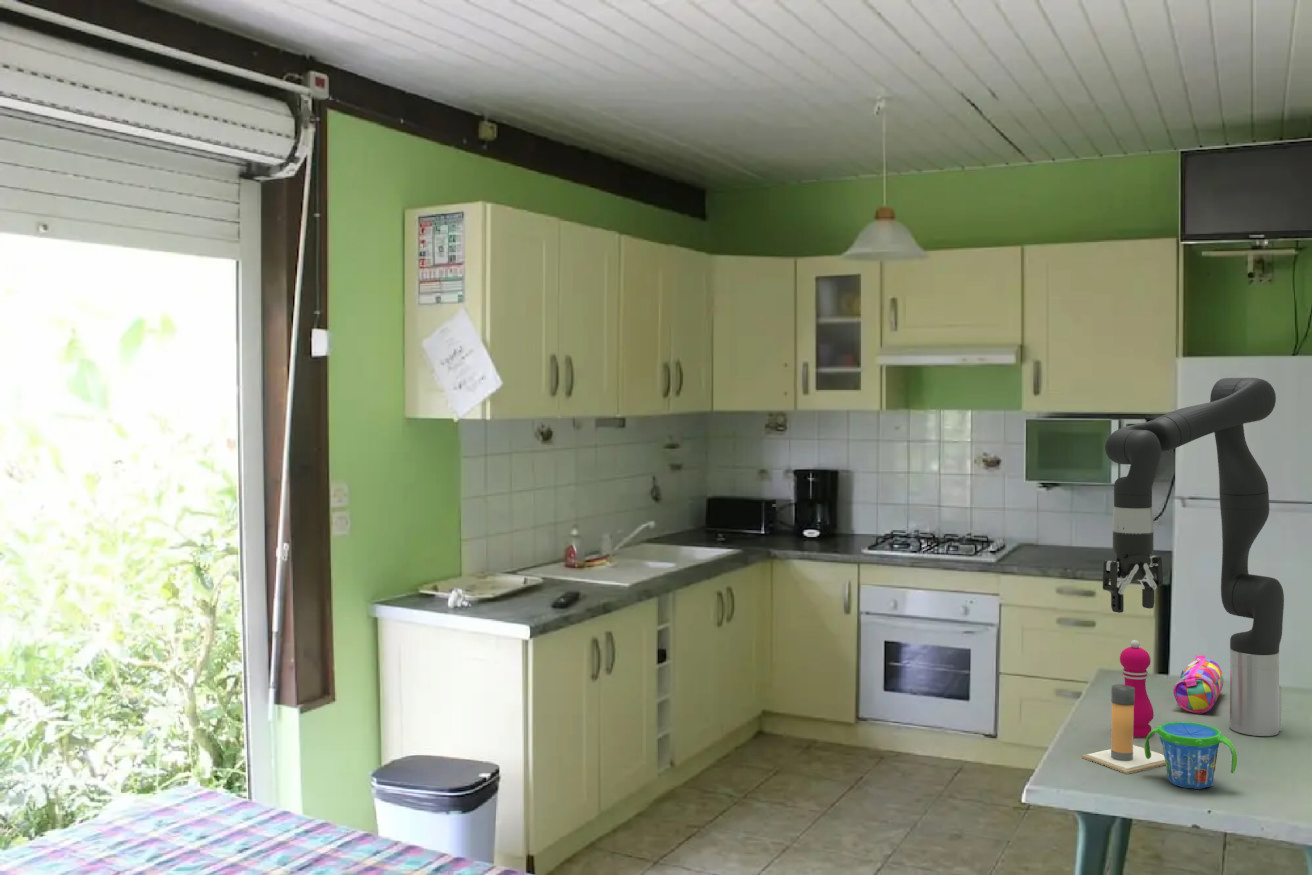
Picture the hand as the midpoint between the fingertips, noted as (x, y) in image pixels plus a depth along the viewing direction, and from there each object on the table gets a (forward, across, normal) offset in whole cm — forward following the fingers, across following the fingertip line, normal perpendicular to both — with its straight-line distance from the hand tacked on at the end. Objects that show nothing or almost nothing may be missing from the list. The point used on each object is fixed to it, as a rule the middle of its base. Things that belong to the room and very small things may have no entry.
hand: (1133, 609), depth 224 cm
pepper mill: (+29, +11, +9) cm, 33 cm away
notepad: (+29, -4, -2) cm, 29 cm away
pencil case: (+30, +42, +18) cm, 54 cm away
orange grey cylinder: (+28, -6, -2) cm, 29 cm away
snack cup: (+29, -5, -17) cm, 34 cm away
